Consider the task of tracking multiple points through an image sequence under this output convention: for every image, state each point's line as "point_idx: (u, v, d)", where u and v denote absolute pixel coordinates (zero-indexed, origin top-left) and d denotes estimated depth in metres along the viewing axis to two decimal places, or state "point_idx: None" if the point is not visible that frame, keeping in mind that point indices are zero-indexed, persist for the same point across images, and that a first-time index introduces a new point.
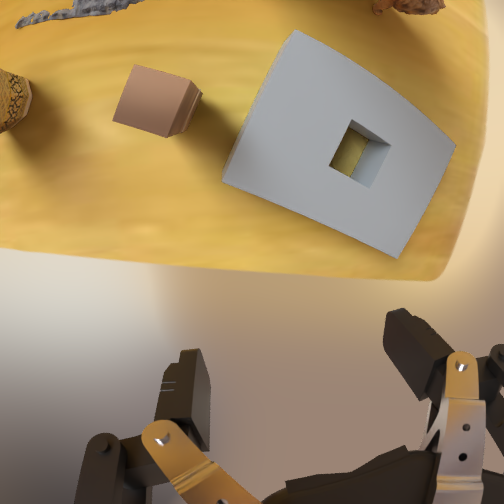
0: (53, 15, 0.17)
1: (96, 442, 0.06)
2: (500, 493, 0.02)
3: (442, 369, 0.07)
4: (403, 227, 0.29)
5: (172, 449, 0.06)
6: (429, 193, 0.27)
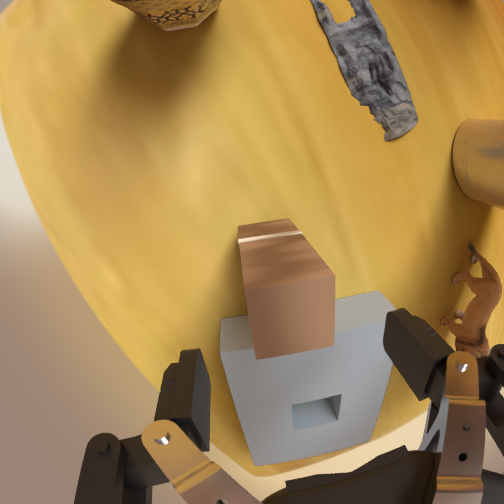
0: (318, 3, 0.16)
1: (97, 442, 0.06)
2: (500, 493, 0.02)
3: (442, 369, 0.07)
4: (281, 457, 0.29)
5: (172, 448, 0.06)
6: (320, 452, 0.29)
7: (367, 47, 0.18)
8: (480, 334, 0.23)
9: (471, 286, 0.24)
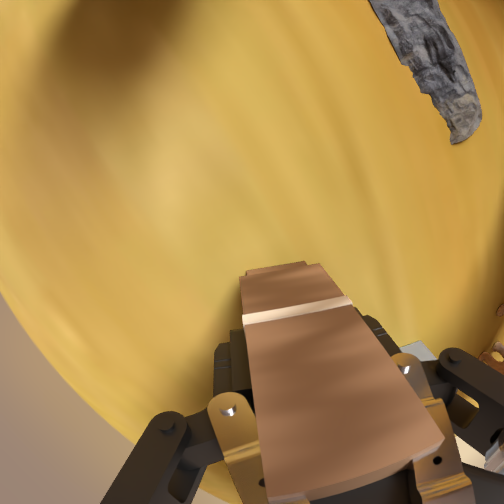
0: None
1: (162, 420, 0.07)
2: (495, 497, 0.02)
3: None
4: None
5: (234, 421, 0.07)
6: None
7: (419, 17, 0.10)
8: None
9: None
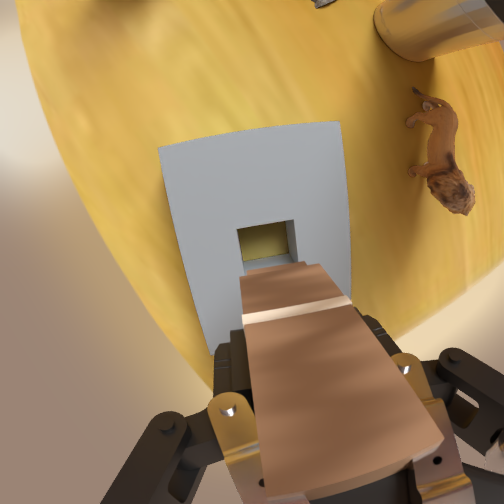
0: None
1: (162, 419, 0.07)
2: (495, 497, 0.02)
3: None
4: None
5: (234, 421, 0.07)
6: None
7: None
8: (449, 161, 0.23)
9: (423, 118, 0.24)
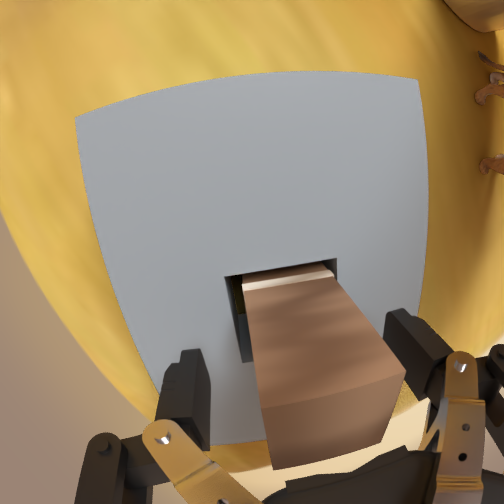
0: None
1: (97, 442, 0.06)
2: (500, 493, 0.02)
3: (441, 369, 0.07)
4: (232, 432, 0.17)
5: (173, 448, 0.06)
6: None
7: None
8: None
9: (503, 92, 0.12)
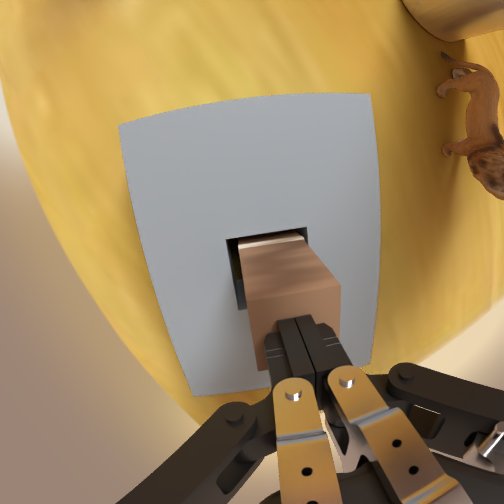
0: None
1: (231, 410, 0.07)
2: (491, 502, 0.02)
3: None
4: (231, 379, 0.22)
5: (296, 407, 0.07)
6: None
7: None
8: (495, 134, 0.15)
9: (459, 85, 0.16)
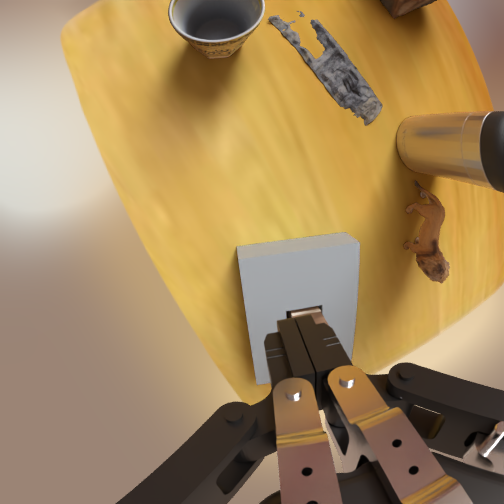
0: (301, 49, 0.30)
1: (231, 410, 0.07)
2: (492, 502, 0.02)
3: None
4: None
5: (296, 407, 0.07)
6: None
7: (338, 70, 0.32)
8: (433, 246, 0.35)
9: (419, 211, 0.37)
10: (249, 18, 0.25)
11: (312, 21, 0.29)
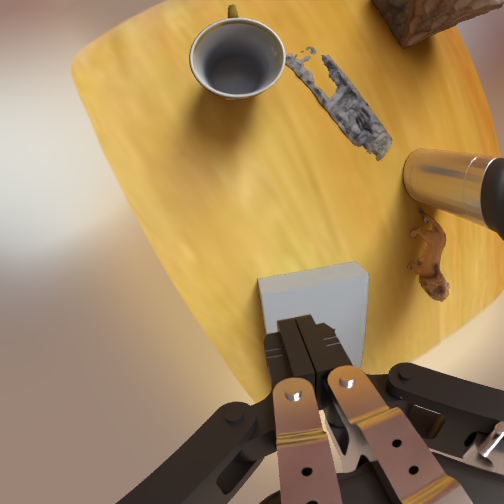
0: (315, 89, 0.34)
1: (231, 410, 0.07)
2: (492, 502, 0.02)
3: None
4: None
5: (296, 407, 0.07)
6: None
7: (351, 108, 0.35)
8: (435, 270, 0.38)
9: (423, 237, 0.40)
10: (267, 62, 0.28)
11: (324, 57, 0.32)
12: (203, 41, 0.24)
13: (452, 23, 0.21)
